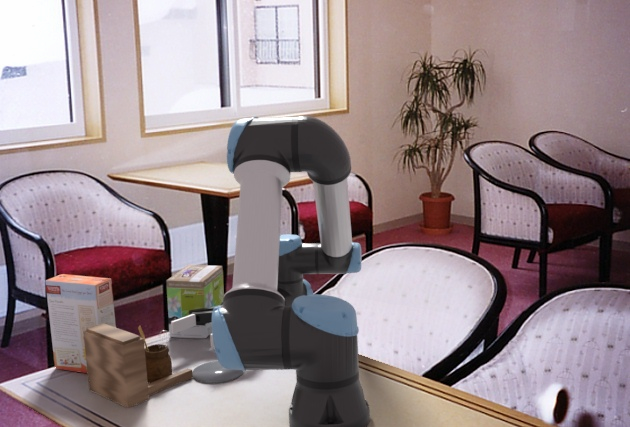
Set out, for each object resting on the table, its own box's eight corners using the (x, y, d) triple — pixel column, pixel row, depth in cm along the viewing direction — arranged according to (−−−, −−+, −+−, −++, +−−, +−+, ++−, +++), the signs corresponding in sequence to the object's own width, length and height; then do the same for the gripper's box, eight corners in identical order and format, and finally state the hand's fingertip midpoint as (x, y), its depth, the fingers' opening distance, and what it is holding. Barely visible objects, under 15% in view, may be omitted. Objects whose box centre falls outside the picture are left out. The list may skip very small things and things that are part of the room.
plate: (254, 370, 177) (253, 368, 177) (215, 387, 169) (215, 385, 169) (220, 359, 184) (220, 356, 184) (182, 375, 176) (181, 372, 176)
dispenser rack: (197, 379, 174) (192, 318, 171) (128, 408, 161) (122, 343, 158) (157, 364, 183) (152, 306, 180) (89, 390, 170) (82, 328, 168)
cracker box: (121, 367, 182) (112, 277, 178) (103, 377, 177) (94, 285, 172) (72, 359, 188) (62, 272, 184) (54, 369, 183) (43, 279, 178)
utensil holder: (170, 384, 172) (165, 330, 169) (140, 385, 172) (135, 331, 169) (175, 373, 177) (170, 320, 175) (146, 374, 178) (141, 321, 175)
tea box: (207, 339, 197) (203, 280, 194) (168, 338, 199) (163, 280, 196) (226, 318, 211) (222, 263, 208) (190, 317, 213) (185, 263, 210)
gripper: (298, 334, 188) (230, 363, 173) (227, 313, 204) (158, 337, 189) (297, 303, 186) (227, 329, 171) (225, 284, 203) (155, 307, 188)
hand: (191, 333), depth 180 cm, fingers open, 13 cm apart
